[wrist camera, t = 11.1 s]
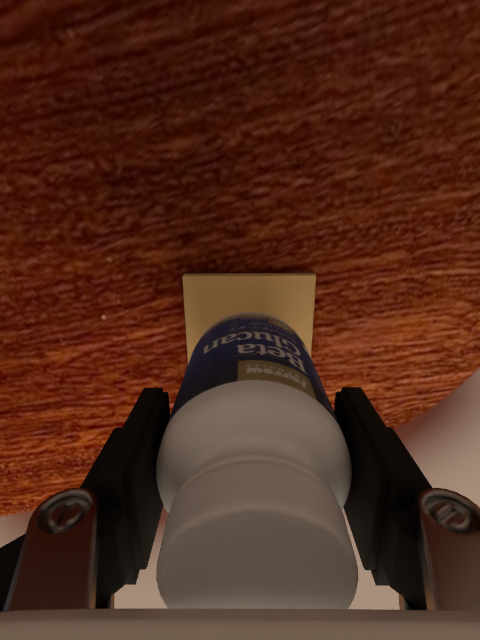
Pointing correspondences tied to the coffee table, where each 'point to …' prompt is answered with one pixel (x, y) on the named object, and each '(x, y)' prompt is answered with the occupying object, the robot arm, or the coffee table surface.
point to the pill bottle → (254, 477)
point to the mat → (248, 300)
